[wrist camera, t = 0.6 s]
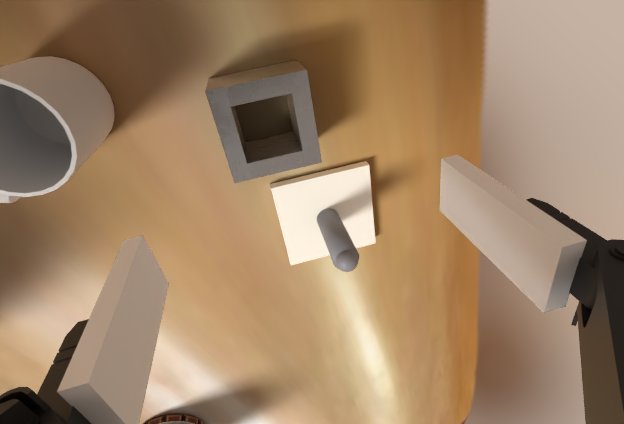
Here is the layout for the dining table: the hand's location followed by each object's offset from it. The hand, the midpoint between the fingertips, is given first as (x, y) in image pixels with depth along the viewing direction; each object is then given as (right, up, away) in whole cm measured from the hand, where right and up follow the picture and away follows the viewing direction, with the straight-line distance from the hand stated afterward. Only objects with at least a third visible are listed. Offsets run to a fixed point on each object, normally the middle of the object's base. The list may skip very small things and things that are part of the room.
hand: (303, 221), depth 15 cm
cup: (-20, +8, +13) cm, 25 cm away
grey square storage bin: (-4, +9, +16) cm, 19 cm away
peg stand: (+2, 0, +23) cm, 23 cm away
